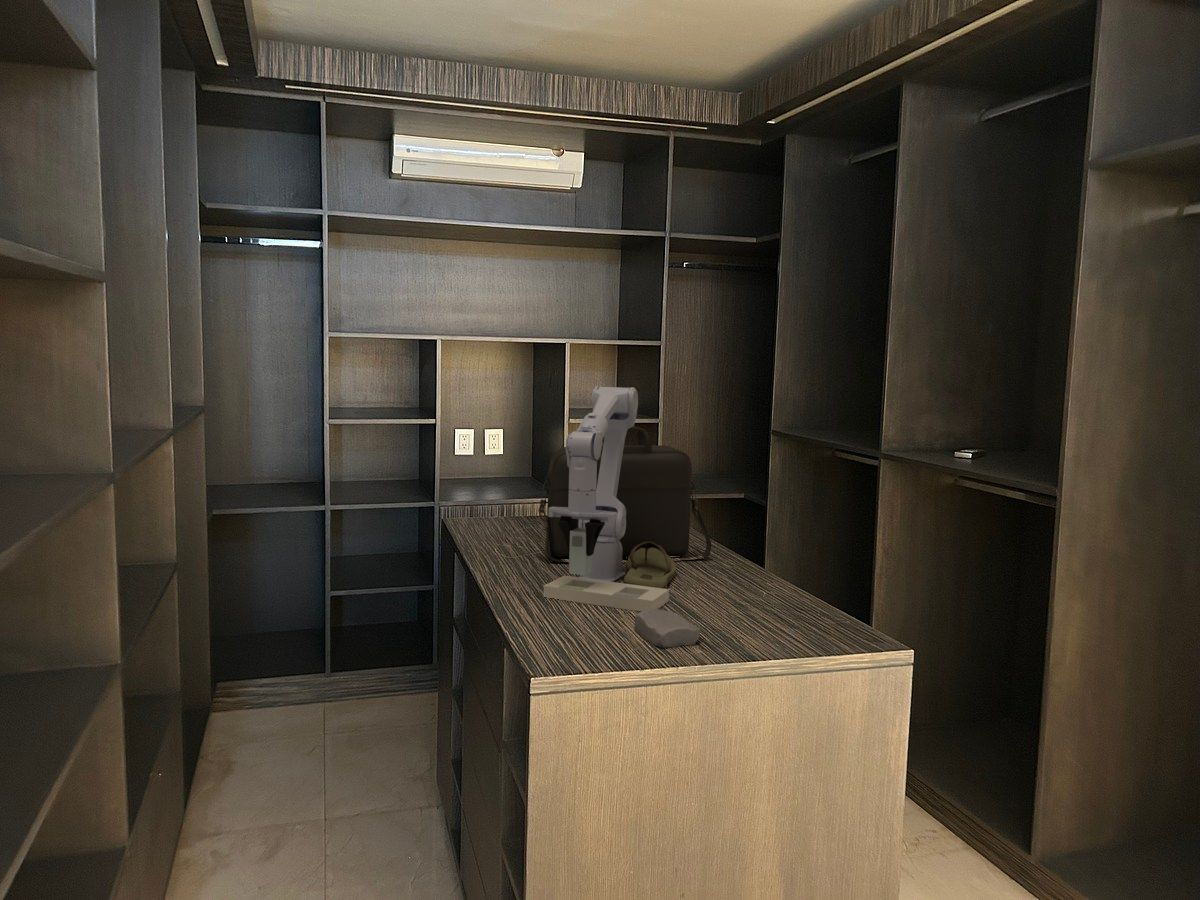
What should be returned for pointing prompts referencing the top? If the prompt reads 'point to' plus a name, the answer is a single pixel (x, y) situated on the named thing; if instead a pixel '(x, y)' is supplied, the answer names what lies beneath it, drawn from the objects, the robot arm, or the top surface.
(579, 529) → the plug
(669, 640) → the stone block
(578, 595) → the jack block
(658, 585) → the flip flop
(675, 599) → the top surface
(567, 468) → the laptop bag
